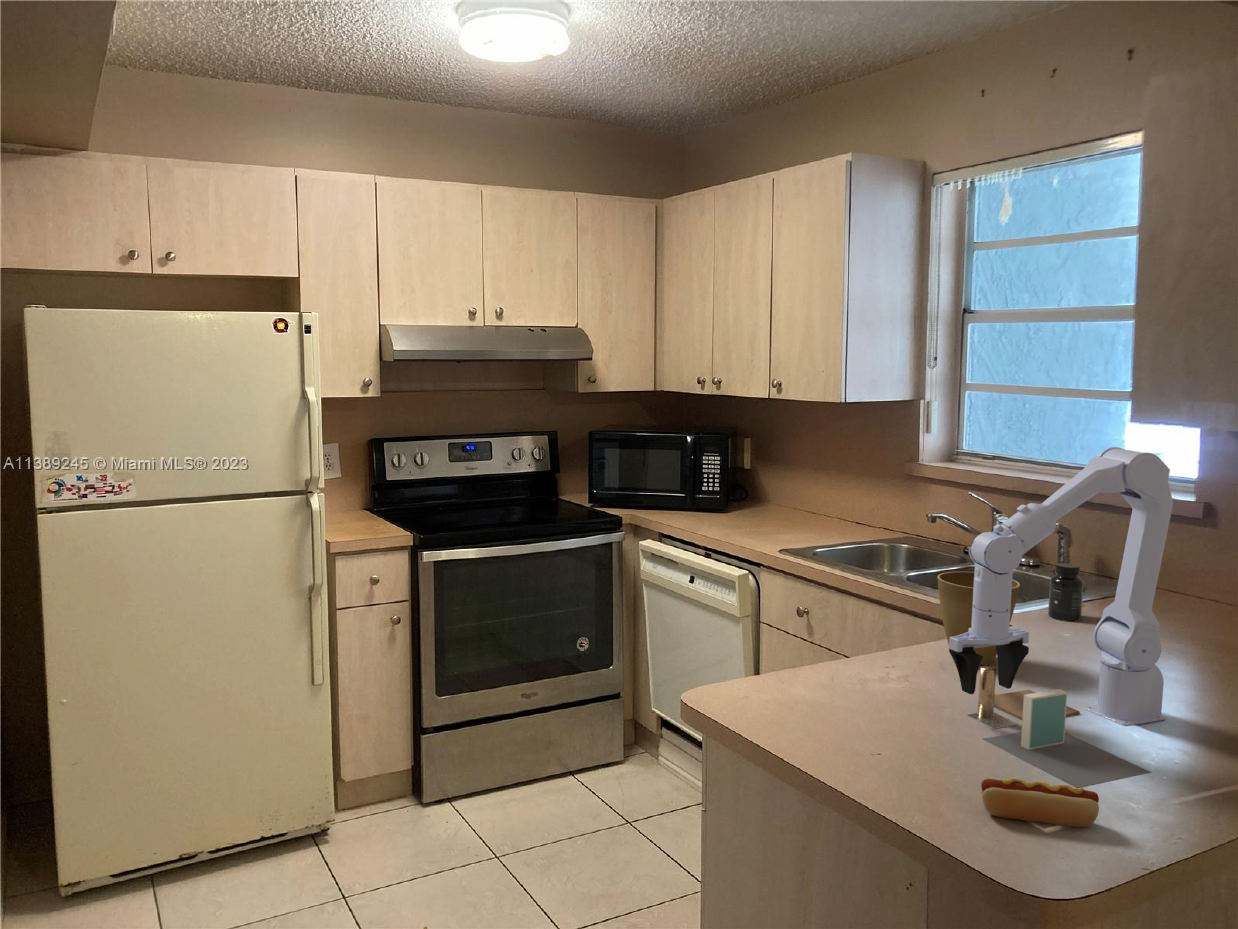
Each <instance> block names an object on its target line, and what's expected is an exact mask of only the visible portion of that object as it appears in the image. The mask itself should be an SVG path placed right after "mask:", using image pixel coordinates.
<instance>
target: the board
mask: <svg viewBox="0 0 1238 929" xmlns="http://www.w3.org/2000/svg"><path fill="white" fill-rule="evenodd" d="M1032 693H1036V692H1035V691H1033V690H1031V689H1025V690H1020V691H1019V690H1018V691H1012V692H1006V693H1000V694H998V693H997V694H995V697H994V709H998V710H999V711H1002V712H1003V713H1006V714H1008V715H1010V716H1012V717H1014V718H1016V719H1019V720H1021V721H1022V719H1023V702H1024V695H1026V694H1032ZM1080 713H1081V712H1080V710H1077V709H1075V708H1073V707H1070V706H1068V705H1066V717H1069V716H1076V715H1080Z"/></svg>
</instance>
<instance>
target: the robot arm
mask: <svg viewBox="0 0 1238 929" xmlns="http://www.w3.org/2000/svg"><path fill="white" fill-rule="evenodd" d="M1170 472H1171V469H1170V468H1169V467H1168V465H1167V464H1165V462H1164V461H1163V460H1162V459H1161V458H1160V457H1159V456H1158V455H1156V454H1154V453H1152V452H1141V451H1135V450H1131V449H1130V450H1129V449H1125V448H1121V447H1119V446H1118V447H1117V446H1114V447H1113V446H1112V447H1108V448H1106V449H1104V450H1103V451H1101V453H1099V454H1098V455H1097V456H1096V455H1095V456H1094V457H1093V458H1091V459H1089V460H1088V462H1087V464H1086V465H1085V467H1084V468H1083V469H1081V470H1080V471H1079V472H1078V473H1077V474H1076V475H1074V476H1073V477H1072V478H1071V479H1070V480H1068V481H1067V482H1065V484H1063V486H1061V487H1060V488H1059V489H1057V490H1056V491H1055V492H1054V493H1053V494H1051V495H1050V496H1049V497H1048V498H1046V499H1045V500H1044V501H1043V502H1041V503H1035V502H1034V503H1033V502H1030V503H1028V504H1021V505H1019V506H1018V507H1017V508H1016V511H1017V512H1016V513H1014V514H1013V515H1012V516H1010V517H1009V518H1008V519H1006V520H1005V521H1003V522H1002V523H1000V524H999V523H998V524H996V525H994V526H993V530H992V531H988V532H987V531H985V532H982V533H980V534H978V535H977V536H976V537H975V538H974V540H973V542H972V544H971V547H968V556H969V557H970V559H971V560H972V562H973V563H974V572H975V573H974V588H973V607H972V624H971V628H969V631H968V632H966V633H963V634H960V635H958V636H954V637H950V642H949V644H948V646H949V647H948V651H949V654H950V655H951V658H952V659H953V662H954V664H955V667H956V670H957V673H958V675H959V676H958V678H959V682H960V687H961V691H963V692H965V693H967V694H969V695H974V694H975V692H976V687H977V677H978V672H979V669H980V666H979V665H980V662H981V660H982V658H983V656H981V655H978V654H976V651H974V648H981V647H988V646H996V651H997V655H996V657H997V667H998V668H997V669H998V670H997V680H998V685H999V686H1001V687H1003V688H1005V689H1009V690H1010V689H1011V688H1012V686H1013V683H1014V680H1015V679H1016V675H1017V673H1018V670H1019V668H1020V666H1021V664H1022V662H1023V661H1024V660H1025V658H1026V657H1027V656H1028V655H1029V651H1030V647H1029V646H1027V645H1025V644H1029V640H1030V639H1029V636H1030V635H1029V634H1030V632H1029V631H1028V630H1025V629H1023V628H1010V624H1011V621H1010V608H1011V592H1012V579H1013V575H1014V574H1013V572H1014V570H1017V568H1019V566H1020V563H1021V562H1022V557H1023V556H1024V555H1025V554H1026V553H1028V551H1030V550H1031V549H1032V548H1034V547H1035V546H1036V545H1038V544H1039V543H1041V542H1043V540H1044V539H1046V538H1047V537H1049V536H1050V535H1051V534H1053V533H1054V532H1055V531H1056V528H1057V527H1056V526H1057V520H1059V519H1061V518H1062V517H1063V516H1065V515H1067V514H1069V513H1070V512H1071V511H1073V510H1074V509H1076V508H1078V507H1079V506H1081V505H1083V504H1084V503H1085V502H1087V501H1088V500H1090V499H1091V498H1093V497H1095V496H1096V495H1098V494H1100V493H1102V494H1103V493H1119V494H1120V495H1121V496H1122V498H1123V499H1124V500H1125V501H1126V502H1127V503H1128V504H1129V506H1130V507H1131V509H1132V511H1131V515H1130V521H1129V525H1128V531H1127V536H1126V541H1125V544H1124V545H1125V546H1124V550H1123V556H1122V562H1121V566H1120V570H1119V571H1120V572H1119V577H1118V582H1117V587H1116V591H1115V598H1114V600H1113V602H1112V603H1110V604H1109V605H1107V606H1106V607H1105V608H1103V610H1102V616H1101V619H1100V620H1099V622H1098V623H1097V624H1096V625H1095V628H1094V630H1093V635H1092V636H1093V638H1092V639H1093V642H1094V644H1095V647H1096V648H1097V649H1099V657H1100V665H1099V680H1098V681H1099V682H1098V693H1097V694H1098V695H1097V704H1096V705H1091V706H1086V707H1084V710H1085V711H1088V712H1090V713H1092V714H1095V715H1096V716H1099V717H1102V718H1104V719H1107V720H1108V721H1111V722H1114V723H1116V724H1118V725H1120V726H1123V727H1128V726H1133V725H1134V726H1135V725H1137V726H1138V725H1141V724H1142V725H1143V724H1147V723H1153V722H1154V723H1155V722H1158V721H1165V720H1166V719H1167V717H1166V715H1164V714H1162V710H1163V697H1164V696H1163V695H1164V677H1163V674H1162V671H1161V669H1160V668H1159V667H1158V666H1157V665H1156V664H1157V662H1158V661H1159V660H1160V658H1161V655H1162V649H1163V648H1162V644H1161V640H1160V639H1161V638H1160V631H1161V625H1160V623H1159V621H1158V619H1157V618H1156V615H1155V614H1154V611H1153V605H1154V601H1155V595H1156V591H1157V585H1158V582H1159V581H1158V580H1159V576H1160V571H1161V567H1162V566H1161V565H1162V561H1163V556H1164V551H1165V546H1166V541H1167V537H1168V530H1169V528H1170V527H1169V525H1170V522H1171V517H1172V516H1171V515H1172V511H1173V506H1174V503H1173V502H1174V500H1173V497H1172V491H1171V488H1170V485H1169V477H1170Z"/></svg>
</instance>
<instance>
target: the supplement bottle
mask: <svg viewBox="0 0 1238 929" xmlns="http://www.w3.org/2000/svg"><path fill="white" fill-rule="evenodd" d="M1054 571H1055V572H1054V573H1055V575H1053V576H1051V578H1050V580H1049V593H1048V595H1049V596H1048V607H1047V608H1048V609H1047V610H1048V611H1047V612H1048V616H1049V617H1050V618H1051V617H1052V619H1055V620H1057V619H1060V620H1059V621H1062V620H1067V621H1066V622H1076V621H1075V620H1078V621H1080V620H1081V619H1082V613H1083V612H1082V610H1083V600H1084V599H1083V598H1084V581H1083V579H1081V577H1079V575H1080V574H1081V572H1080V565H1077V564H1075V563H1066V562H1065V563H1064V562H1063V563H1062V562H1059V563H1056V564H1055V570H1054ZM1079 619H1080V620H1079Z"/></svg>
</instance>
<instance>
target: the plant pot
mask: <svg viewBox="0 0 1238 929" xmlns="http://www.w3.org/2000/svg"><path fill="white" fill-rule="evenodd" d="M974 573H975V571H947V572H942V573H940V574H938V575H937V588H938V589H937V590H938V598H939V600H938V601H939V605H940V614H941V618H942V623H943V627H944V632H945V636H946V640H947V643H948V645H949V642H950V637H954V636H958V635H960V634H963V633H966V632H968V631H969V628H971V624H972V607H973V588H974ZM1020 587H1021V584H1020V582H1018V580H1015V579H1013V578H1012V592H1011V608H1010V622H1011V621H1012V618H1013V616H1014V611H1015V607H1016V603H1017V599H1018V595H1019V591H1020ZM974 651H976V654H978V655H981V656H983V658H982V660H981V662H980V665H983V666H986V665H985V664H990V665H992V664H993V663H994V661H995V659H996V658H997V651H996V646H988V647H981V648H974ZM991 663H992V664H991Z"/></svg>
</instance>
